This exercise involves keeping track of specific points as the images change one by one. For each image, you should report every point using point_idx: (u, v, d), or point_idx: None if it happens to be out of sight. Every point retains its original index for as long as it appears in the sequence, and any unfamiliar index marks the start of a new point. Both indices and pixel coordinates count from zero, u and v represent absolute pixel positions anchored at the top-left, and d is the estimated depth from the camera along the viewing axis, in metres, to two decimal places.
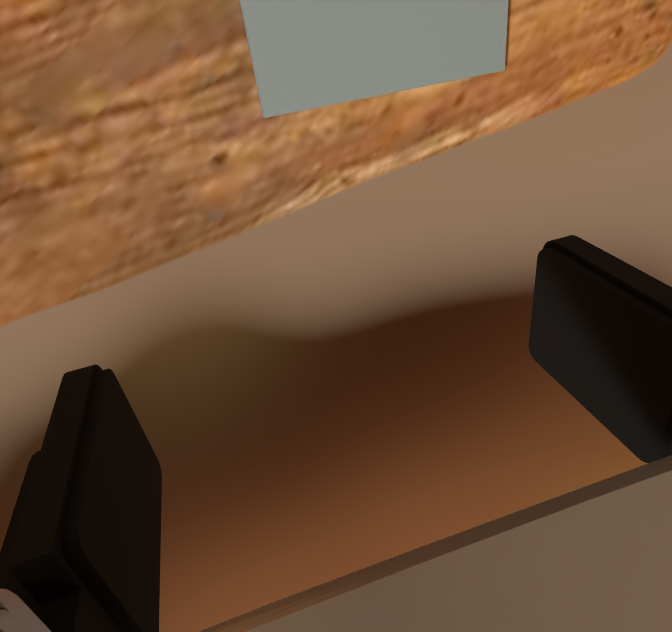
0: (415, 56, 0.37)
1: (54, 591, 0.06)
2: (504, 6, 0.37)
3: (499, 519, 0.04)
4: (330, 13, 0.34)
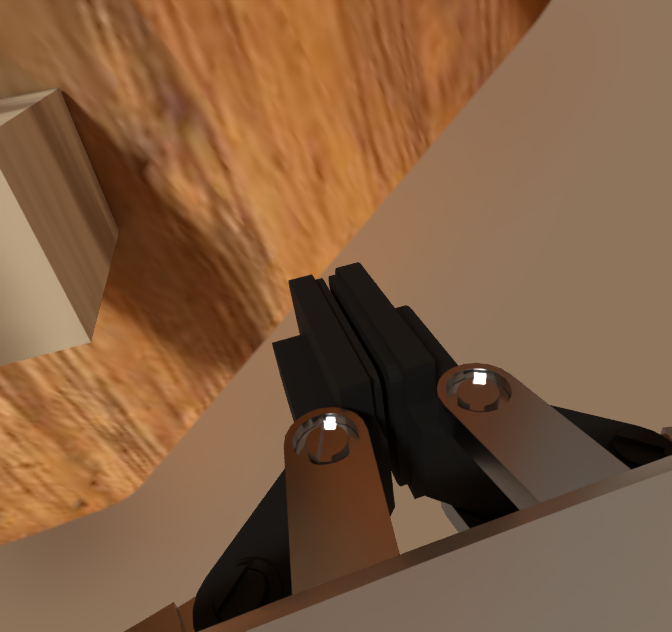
0: None
1: None
2: None
3: (499, 519, 0.04)
4: None
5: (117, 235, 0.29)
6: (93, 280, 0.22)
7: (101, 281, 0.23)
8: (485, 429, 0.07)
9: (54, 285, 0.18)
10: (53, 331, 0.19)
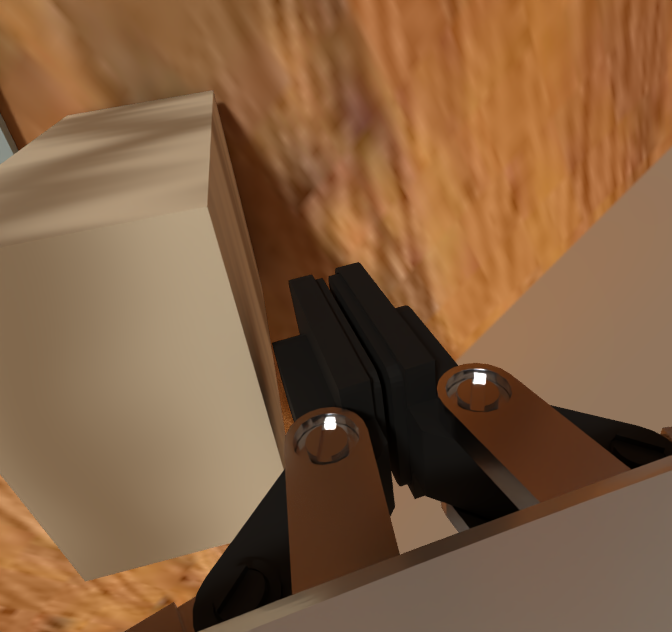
0: None
1: None
2: None
3: (499, 519, 0.04)
4: None
5: (262, 293, 0.21)
6: (276, 394, 0.14)
7: (276, 386, 0.15)
8: (485, 429, 0.07)
9: (267, 450, 0.10)
10: (247, 513, 0.11)
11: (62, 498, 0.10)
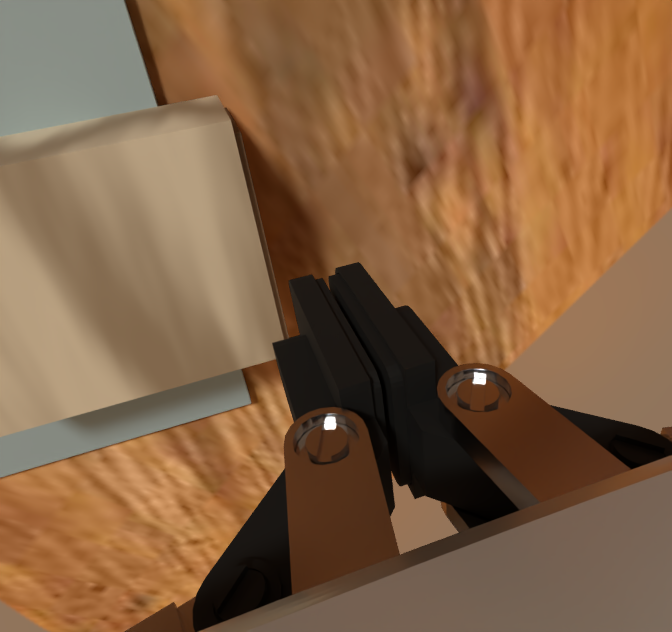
0: None
1: None
2: (71, 451, 0.23)
3: (499, 519, 0.04)
4: None
5: (265, 360, 0.17)
6: (26, 404, 0.15)
7: (70, 407, 0.16)
8: (485, 429, 0.07)
9: None
10: None
11: None
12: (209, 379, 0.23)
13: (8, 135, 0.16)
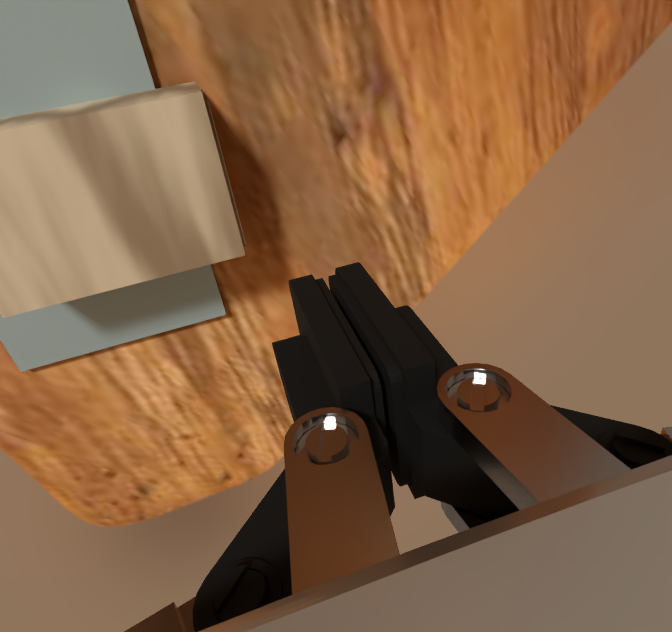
0: None
1: None
2: (92, 347, 0.31)
3: (499, 519, 0.04)
4: None
5: (230, 257, 0.26)
6: (72, 281, 0.24)
7: (100, 286, 0.24)
8: (485, 429, 0.07)
9: None
10: None
11: None
12: (194, 293, 0.31)
13: None
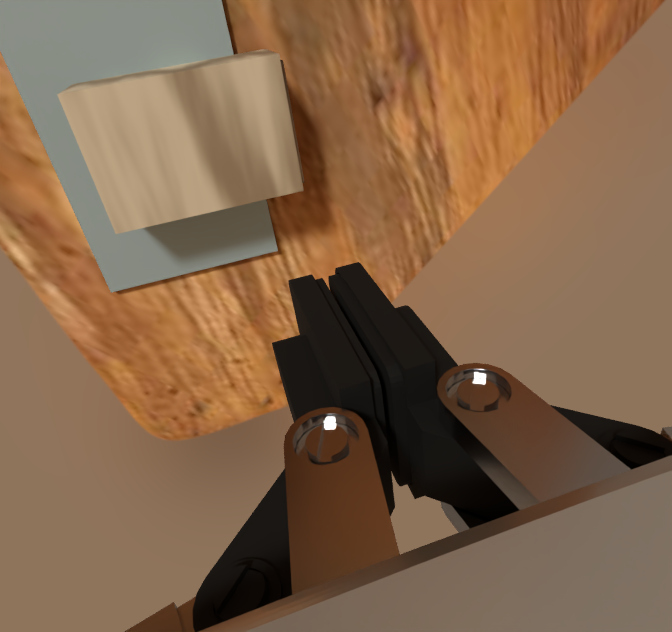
0: None
1: None
2: (169, 274, 0.37)
3: (499, 519, 0.04)
4: None
5: (291, 192, 0.32)
6: (170, 205, 0.30)
7: (190, 211, 0.31)
8: (485, 429, 0.07)
9: (98, 190, 0.29)
10: None
11: None
12: (253, 230, 0.38)
13: (158, 68, 0.30)
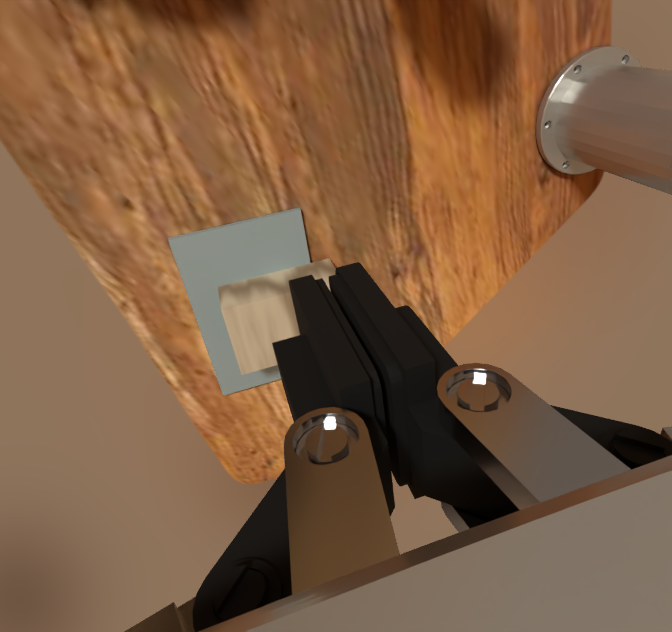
0: (224, 337, 0.53)
1: None
2: (260, 382, 0.58)
3: (499, 519, 0.04)
4: (244, 279, 0.51)
5: None
6: (274, 358, 0.50)
7: None
8: (485, 429, 0.07)
9: (235, 353, 0.49)
10: None
11: None
12: None
13: (266, 274, 0.51)
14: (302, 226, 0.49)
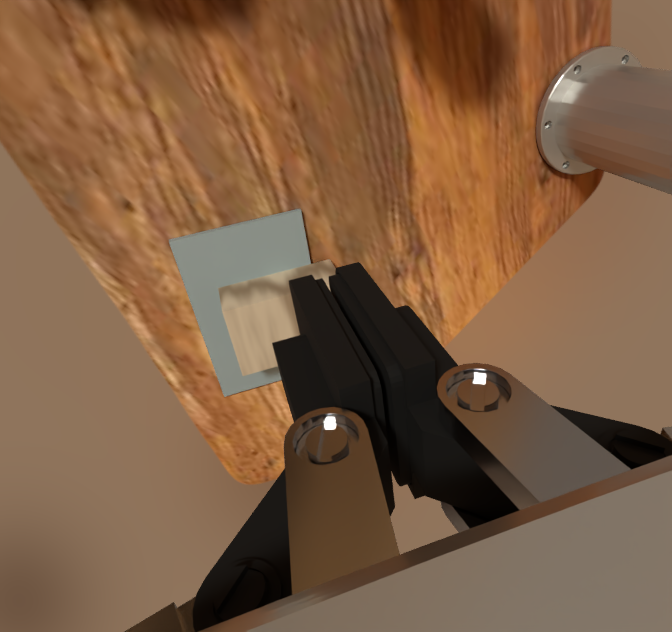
0: (225, 339, 0.53)
1: None
2: (260, 383, 0.58)
3: (499, 519, 0.04)
4: None
5: None
6: (275, 359, 0.50)
7: None
8: (485, 429, 0.07)
9: None
10: None
11: None
12: None
13: (266, 275, 0.51)
14: (302, 227, 0.49)
